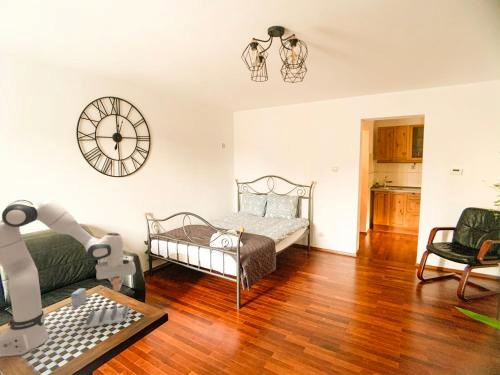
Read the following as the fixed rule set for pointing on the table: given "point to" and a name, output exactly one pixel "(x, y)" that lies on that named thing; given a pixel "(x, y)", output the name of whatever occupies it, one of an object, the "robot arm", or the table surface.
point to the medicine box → (78, 297)
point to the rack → (107, 316)
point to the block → (116, 283)
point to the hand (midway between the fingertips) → (117, 283)
